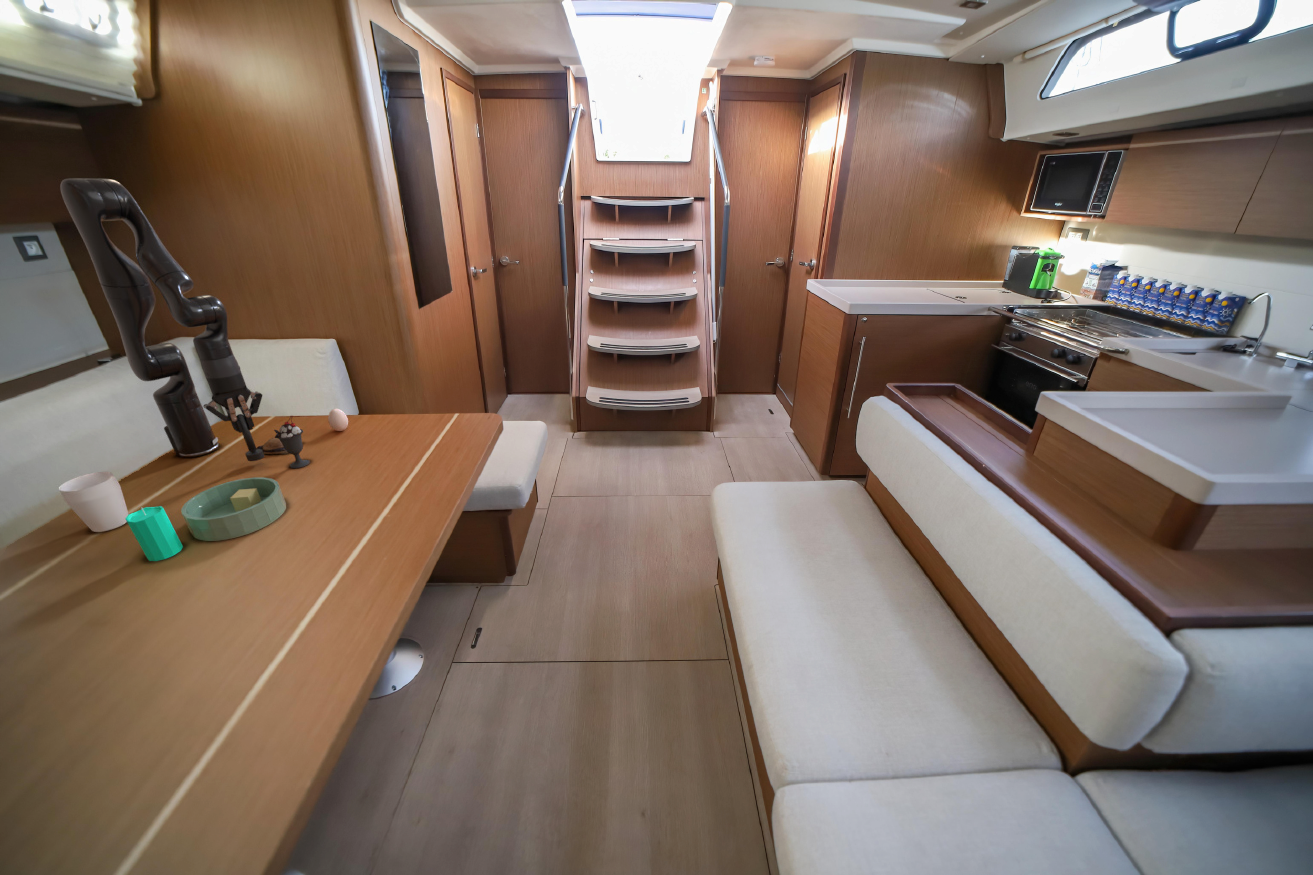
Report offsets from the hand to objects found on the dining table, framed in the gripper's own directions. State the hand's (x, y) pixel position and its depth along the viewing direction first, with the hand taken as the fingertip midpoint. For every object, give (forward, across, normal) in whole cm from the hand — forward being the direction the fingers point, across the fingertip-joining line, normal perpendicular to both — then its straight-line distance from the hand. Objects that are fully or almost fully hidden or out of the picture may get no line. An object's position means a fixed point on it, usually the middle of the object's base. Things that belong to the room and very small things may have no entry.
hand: (245, 430), depth 142 cm
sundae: (+11, -7, +10) cm, 17 cm away
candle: (+11, +28, +30) cm, 43 cm away
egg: (+11, -26, -4) cm, 28 cm away
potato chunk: (+10, +11, +25) cm, 29 cm away
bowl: (+11, +14, +28) cm, 33 cm away
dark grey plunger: (+9, 0, 0) cm, 9 cm away
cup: (+11, +32, +6) cm, 35 cm away
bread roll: (+11, -8, -6) cm, 15 cm away
